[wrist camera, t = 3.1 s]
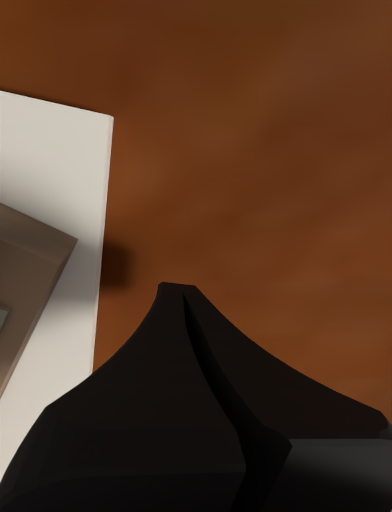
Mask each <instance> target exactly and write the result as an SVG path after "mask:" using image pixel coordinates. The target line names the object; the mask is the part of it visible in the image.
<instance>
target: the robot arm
mask: <svg viewBox="0 0 392 512" xmlns="http://www.w3.org/2000/svg"><path fill="white" fill-rule="evenodd" d="M391 510H392V425H391V423H390V422H389V421H388V420H387V419H386V417H385V416H384V415H383V414H382V413H381V412H380V411H378V410H376V409H374V408H371V407H369V406H367V405H365V404H363V403H360V402H358V401H356V400H354V399H351V398H349V397H347V396H345V395H343V394H340V393H338V392H336V391H334V390H332V389H330V388H328V387H326V386H324V385H322V384H320V383H318V382H317V381H315V380H313V379H311V378H309V377H307V376H305V375H304V374H302V373H300V372H298V371H297V370H295V369H293V368H292V367H290V366H288V365H287V364H285V363H284V362H282V361H280V360H279V359H277V358H276V357H274V356H273V355H271V354H270V353H268V352H267V351H265V350H264V349H263V348H261V347H260V346H259V345H257V344H256V343H255V342H253V341H252V340H251V339H249V338H248V337H247V336H246V335H244V334H243V333H242V332H241V331H240V330H239V329H238V328H236V327H235V326H234V325H233V324H232V323H231V322H230V321H229V320H228V319H227V318H226V317H224V316H223V315H222V314H221V313H220V312H219V311H218V310H217V309H216V307H215V306H214V305H213V304H212V303H211V302H210V301H209V300H208V299H207V298H206V297H205V296H204V295H203V294H202V292H201V291H200V290H199V289H198V288H197V287H196V286H193V285H184V284H176V283H167V282H161V283H160V284H159V285H158V290H157V296H156V299H155V301H154V303H153V305H152V307H151V309H150V310H149V312H148V314H147V315H146V317H145V318H144V320H143V321H142V323H141V324H140V326H139V327H138V328H137V330H136V331H135V332H134V333H133V335H132V336H131V337H130V338H129V339H128V340H127V342H126V343H125V344H124V345H123V346H122V347H121V348H120V349H119V350H118V351H117V352H116V353H115V354H114V355H113V356H112V357H111V358H110V359H109V360H108V361H107V362H105V363H104V364H103V365H102V366H101V367H99V368H98V369H97V370H96V371H95V372H93V373H92V374H91V375H90V376H89V377H87V378H86V379H85V380H84V381H82V382H81V383H80V384H78V385H77V386H75V387H74V388H72V389H71V390H69V391H68V392H67V393H65V394H64V395H62V396H61V397H59V398H58V399H56V400H55V401H53V402H52V403H51V404H49V405H47V406H46V407H45V408H44V410H43V411H42V412H41V414H40V415H39V417H38V418H37V420H36V421H35V423H34V424H33V425H32V427H31V428H30V430H29V431H28V433H27V435H26V436H25V438H24V439H23V441H22V442H21V444H20V446H19V447H18V449H17V451H16V453H15V455H14V456H13V458H12V460H11V461H10V463H9V465H8V467H7V469H6V471H5V473H4V475H3V477H2V480H1V482H0V512H390V511H391Z"/></svg>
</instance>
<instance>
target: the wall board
mask: <svg viewBox="0 0 392 512" xmlns="http://www.w3.org/2000/svg"><path fill="white" fill-rule="evenodd" d="M113 119H114V117H112V116H110V115H105V114H101V113H96V112H92V111H88V110H83V109H79V108H74V107H70V106H65V105H61V104H57V103H52V102H48V101H43V100H39V99H35V98H30V97H26V96H21V95H17V94H12V93H8V92H4V91H0V203H2V204H4V205H6V206H8V207H10V208H13V209H15V210H17V211H19V212H21V213H23V214H26V215H28V216H30V217H32V218H34V219H36V220H38V221H41V222H43V223H45V224H47V225H49V226H51V227H53V228H56V229H58V230H60V231H62V232H64V233H66V234H69V235H71V236H73V237H75V238H77V239H78V241H77V243H76V245H75V248H74V250H73V252H72V254H71V256H70V258H69V260H68V262H67V264H66V266H65V268H64V270H63V272H62V274H61V276H60V278H59V280H58V282H57V284H56V286H55V288H54V290H53V293H52V295H51V297H50V299H49V301H48V303H47V305H46V307H45V309H44V311H43V313H42V315H41V317H40V319H39V321H38V323H37V325H36V327H35V329H34V331H33V333H32V335H31V337H30V340H29V342H28V344H27V346H26V348H25V350H24V352H23V354H22V356H21V358H20V360H19V362H18V364H17V366H16V368H15V370H14V372H13V374H12V376H11V378H10V380H9V382H8V385H7V387H6V389H5V391H4V393H3V395H2V397H1V399H0V482H1V480H2V477H3V475H4V473H5V471H6V469H7V467H8V465H9V463H10V461H11V460H12V458H13V456H14V455H15V453H16V451H17V449H18V447H19V446H20V444H21V442H22V441H23V439H24V438H25V436H26V435H27V433H28V431H29V430H30V428H31V427H32V425H33V424H34V423H35V421H36V420H37V418H38V417H39V415H40V414H41V412H42V411H43V410H44V408H45V407H46V406H47V405H49V404H51V403H52V402H53V401H55V400H56V399H58V398H59V397H61V396H62V395H64V394H65V393H67V392H68V391H69V390H71V389H72V388H74V387H75V386H77V385H78V384H80V383H81V382H82V381H84V380H85V379H86V378H87V377H89V376H90V375H91V374H92V368H93V356H94V344H95V333H96V321H97V309H98V297H99V285H100V273H101V261H102V250H103V238H104V226H105V214H106V202H107V190H108V178H109V166H110V155H111V143H112V131H113Z"/></svg>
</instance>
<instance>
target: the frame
mask: <svg viewBox="0 0 392 512" xmlns="http://www.w3.org/2000/svg"><path fill="white" fill-rule="evenodd" d="M77 241H78V239H77V238H75V237H73V236H71V235H69V234H66V233H64V232H62V231H60V230H58V229H56V228H53V227H51V226H49V225H47V224H45V223H43V222H41V221H38V220H36V219H34V218H32V217H30V216H28V215H26V214H23V213H21V212H19V211H17V210H15V209H13V208H10V207H8V206H6V205H4V204H2V203H0V399H1V397H2V395H3V393H4V391H5V389H6V387H7V385H8V382H9V380H10V378H11V376H12V374H13V372H14V370H15V368H16V366H17V364H18V362H19V360H20V358H21V356H22V354H23V352H24V350H25V348H26V346H27V344H28V342H29V340H30V337H31V335H32V333H33V331H34V329H35V327H36V325H37V323H38V321H39V319H40V317H41V315H42V313H43V311H44V309H45V307H46V305H47V303H48V301H49V299H50V297H51V295H52V293H53V290H54V288H55V286H56V284H57V282H58V280H59V278H60V276H61V274H62V272H63V270H64V268H65V266H66V264H67V262H68V260H69V258H70V256H71V254H72V252H73V250H74V248H75V245H76V243H77Z"/></svg>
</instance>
